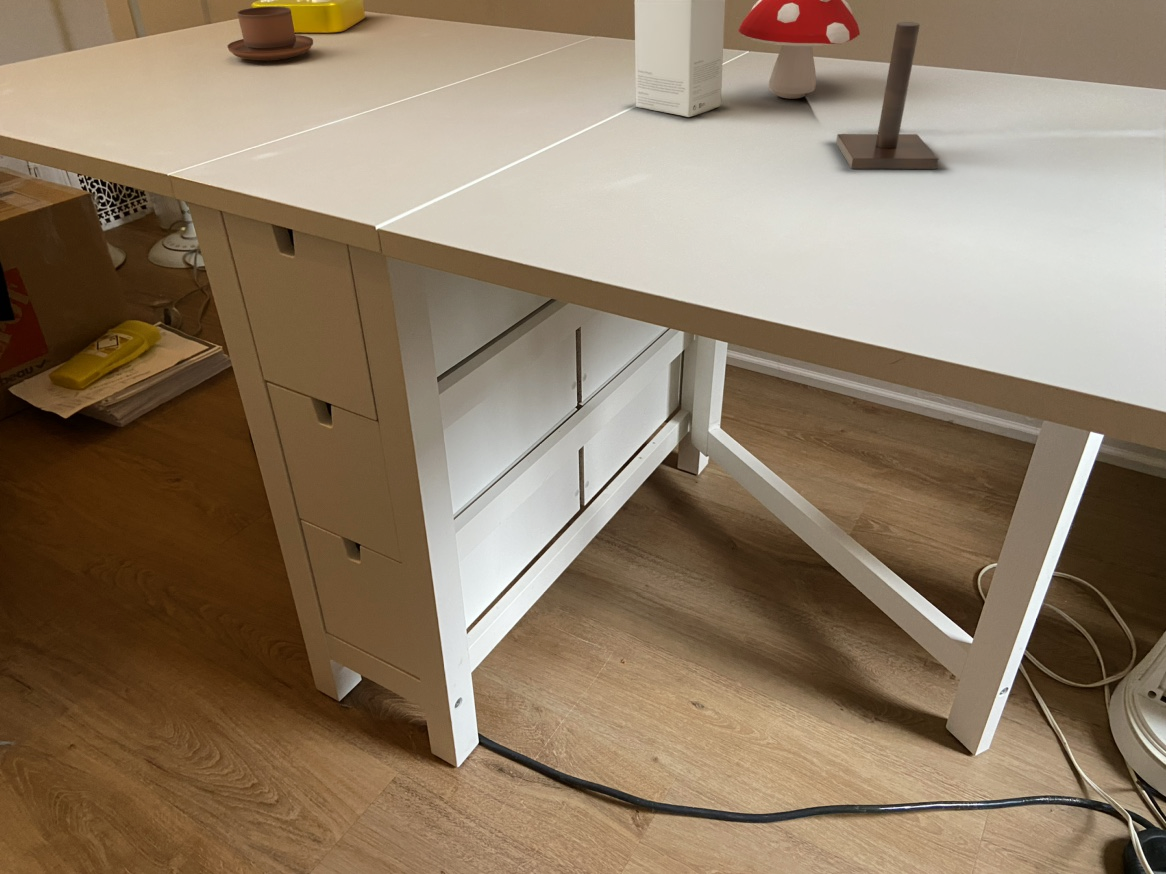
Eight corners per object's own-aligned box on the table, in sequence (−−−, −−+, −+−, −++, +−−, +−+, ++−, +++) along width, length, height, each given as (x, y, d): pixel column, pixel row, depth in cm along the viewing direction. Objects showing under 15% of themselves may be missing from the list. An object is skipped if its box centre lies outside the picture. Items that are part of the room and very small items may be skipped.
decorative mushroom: (747, 79, 113) (758, -54, 104) (856, 87, 109) (878, -50, 100) (721, 106, 102) (732, -39, 94) (841, 116, 98) (864, -34, 90)
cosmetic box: (721, 108, 102) (732, -44, 93) (686, 120, 98) (694, -38, 89) (665, 96, 107) (671, -50, 98) (630, 107, 103) (632, -44, 94)
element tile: (368, 17, 154) (364, -14, 152) (341, 33, 142) (336, 1, 139) (286, 16, 156) (280, -14, 153) (252, 33, 144) (245, 1, 141)
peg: (915, 143, 90) (941, 15, 83) (936, 169, 83) (966, 32, 76) (836, 143, 90) (855, 16, 83) (851, 168, 83) (873, 32, 77)
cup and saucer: (216, 57, 129) (205, 11, 125) (291, 45, 135) (283, 1, 132) (252, 70, 121) (242, 21, 118) (330, 56, 128) (322, 10, 124)
